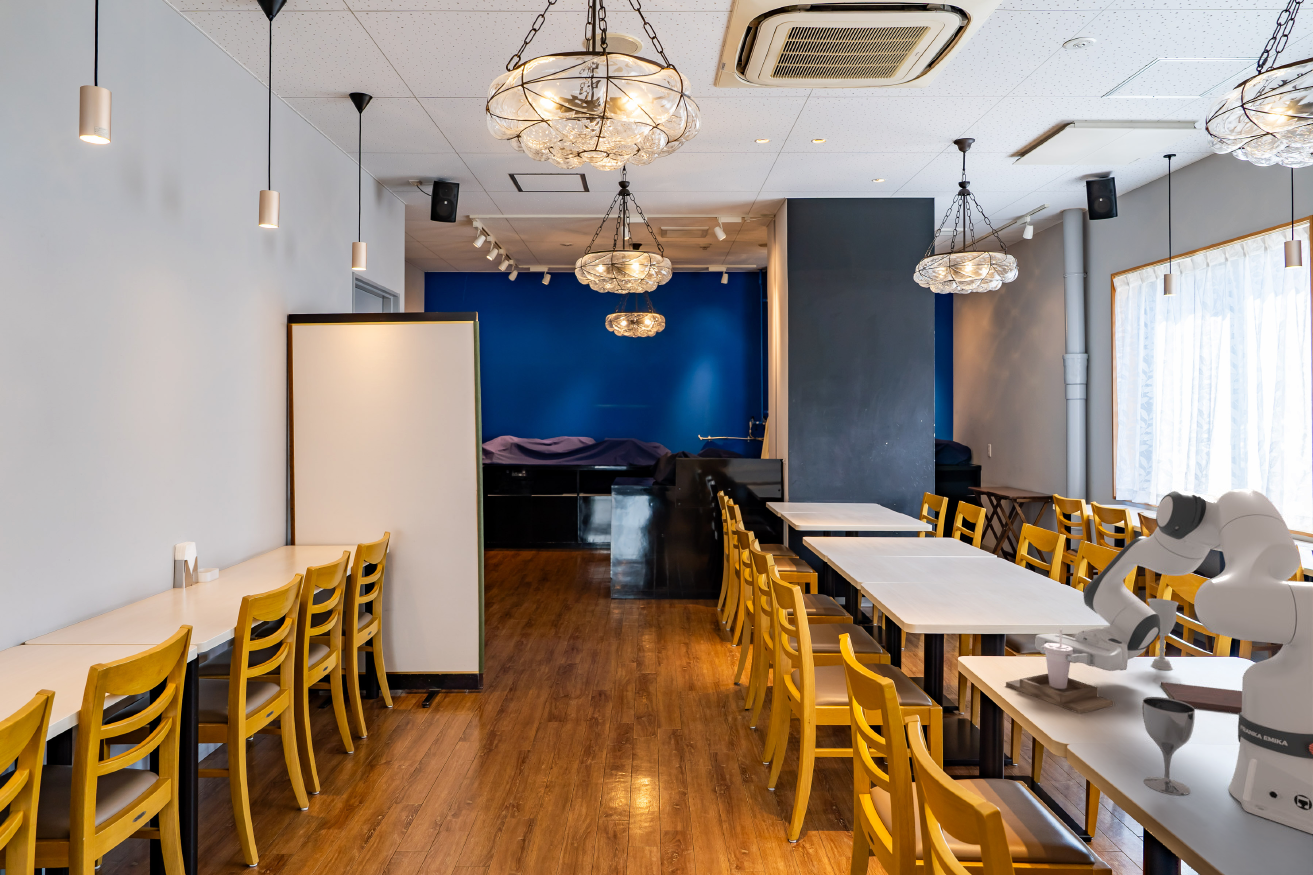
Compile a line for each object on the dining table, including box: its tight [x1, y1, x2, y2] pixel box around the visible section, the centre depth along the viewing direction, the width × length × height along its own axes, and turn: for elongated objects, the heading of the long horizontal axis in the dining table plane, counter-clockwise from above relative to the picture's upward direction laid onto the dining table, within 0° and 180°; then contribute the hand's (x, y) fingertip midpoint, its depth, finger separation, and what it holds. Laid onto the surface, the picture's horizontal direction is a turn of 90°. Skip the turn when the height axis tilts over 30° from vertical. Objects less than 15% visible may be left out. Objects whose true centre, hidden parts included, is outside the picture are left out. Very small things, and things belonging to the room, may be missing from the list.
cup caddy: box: [1005, 673, 1114, 714], centre depth 186 cm, size 20×12×3 cm, turn 25°
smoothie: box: [1044, 628, 1073, 689], centre depth 186 cm, size 6×6×14 cm
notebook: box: [1160, 681, 1242, 714], centre depth 183 cm, size 15×20×2 cm
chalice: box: [1147, 598, 1179, 671], centre depth 208 cm, size 7×7×18 cm
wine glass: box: [1141, 696, 1196, 796], centre depth 139 cm, size 8×8×15 cm
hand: (1056, 654), depth 185 cm, fingers closed on smoothie, 6 cm apart
